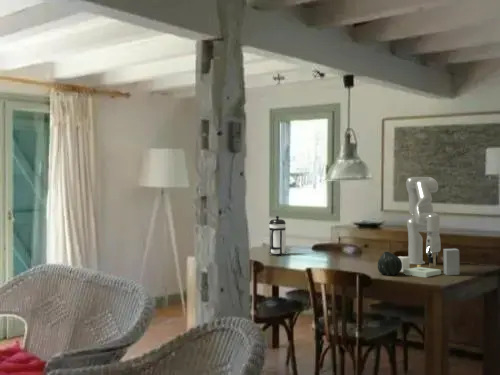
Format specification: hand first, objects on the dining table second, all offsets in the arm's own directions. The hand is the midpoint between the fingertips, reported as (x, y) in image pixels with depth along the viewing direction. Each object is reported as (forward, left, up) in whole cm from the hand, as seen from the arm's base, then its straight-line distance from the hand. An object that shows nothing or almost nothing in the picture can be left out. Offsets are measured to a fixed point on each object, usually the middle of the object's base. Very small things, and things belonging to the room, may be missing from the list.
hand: (432, 262), depth 399 cm
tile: (-10, 0, -6) cm, 12 cm away
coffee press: (-127, -14, -6) cm, 128 cm away
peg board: (+1, -13, -6) cm, 14 cm away
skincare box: (+13, 0, -6) cm, 14 cm away
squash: (-13, -27, -6) cm, 30 cm away
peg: (0, 0, -3) cm, 3 cm away
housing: (-15, -11, -6) cm, 20 cm away
